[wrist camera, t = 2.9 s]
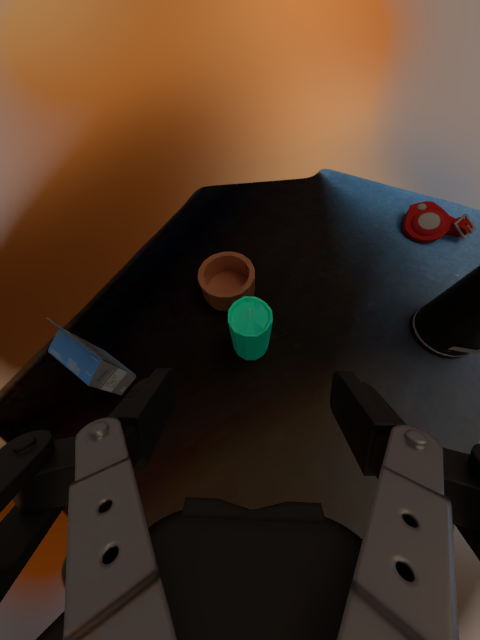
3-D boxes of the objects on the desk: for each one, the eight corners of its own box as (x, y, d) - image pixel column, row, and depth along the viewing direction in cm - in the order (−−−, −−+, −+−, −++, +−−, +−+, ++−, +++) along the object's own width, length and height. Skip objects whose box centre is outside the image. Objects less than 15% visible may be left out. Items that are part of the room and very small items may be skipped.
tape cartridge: (85, 367, 38) (18, 340, 27) (102, 348, 40) (45, 316, 29) (121, 396, 36) (63, 380, 25) (138, 375, 37) (90, 351, 26)
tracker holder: (412, 243, 45) (400, 201, 48) (402, 253, 50) (392, 214, 52) (485, 229, 42) (469, 185, 45) (469, 241, 47) (455, 200, 49)
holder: (230, 261, 47) (227, 243, 43) (265, 288, 44) (266, 272, 39) (193, 289, 44) (186, 273, 40) (227, 321, 41) (224, 308, 36)
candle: (229, 332, 40) (221, 295, 29) (262, 324, 40) (265, 284, 30) (238, 364, 37) (232, 337, 26) (272, 355, 38) (281, 324, 27)
